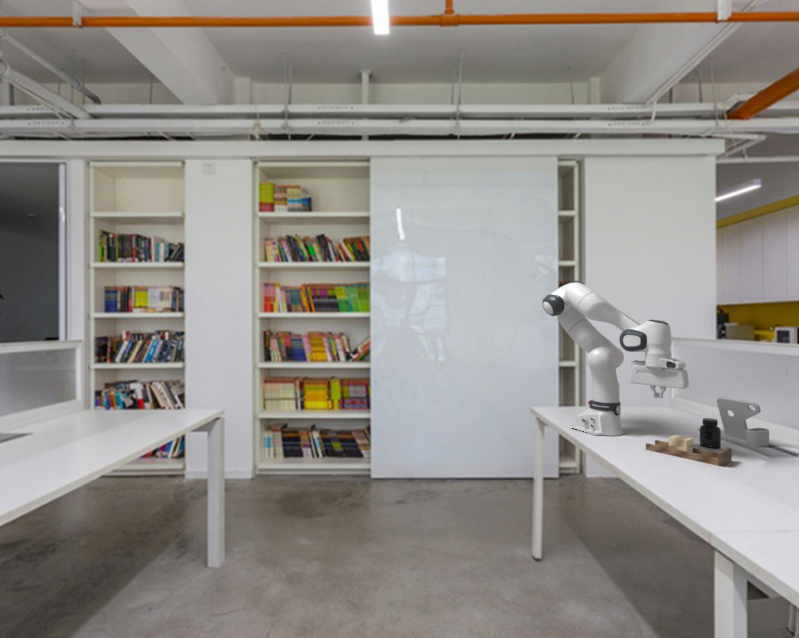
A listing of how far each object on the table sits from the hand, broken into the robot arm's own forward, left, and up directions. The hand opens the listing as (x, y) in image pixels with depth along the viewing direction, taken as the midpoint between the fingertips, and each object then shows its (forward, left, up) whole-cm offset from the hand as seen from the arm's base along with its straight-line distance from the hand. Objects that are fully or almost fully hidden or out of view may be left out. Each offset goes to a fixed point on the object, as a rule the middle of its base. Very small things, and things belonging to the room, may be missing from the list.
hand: (657, 397), depth 173 cm
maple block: (+8, 0, -20) cm, 21 cm away
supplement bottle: (+11, +20, -21) cm, 31 cm away
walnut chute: (+10, 0, -21) cm, 23 cm away
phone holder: (+15, +45, -21) cm, 52 cm away
